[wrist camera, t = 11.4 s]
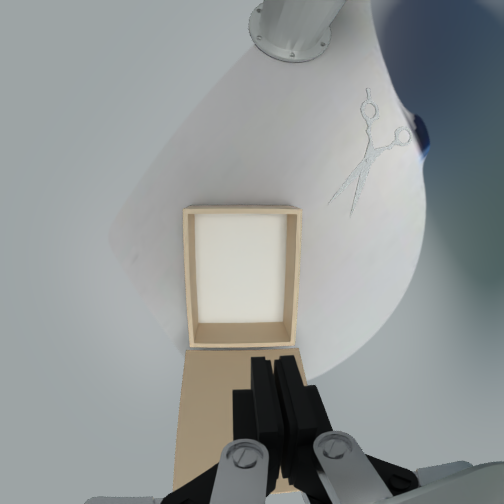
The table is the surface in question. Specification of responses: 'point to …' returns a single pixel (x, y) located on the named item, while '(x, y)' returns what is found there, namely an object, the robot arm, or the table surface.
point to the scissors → (369, 152)
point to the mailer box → (242, 274)
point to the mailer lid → (215, 408)
